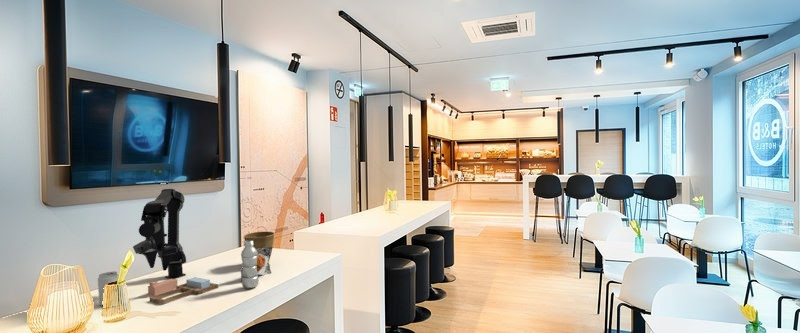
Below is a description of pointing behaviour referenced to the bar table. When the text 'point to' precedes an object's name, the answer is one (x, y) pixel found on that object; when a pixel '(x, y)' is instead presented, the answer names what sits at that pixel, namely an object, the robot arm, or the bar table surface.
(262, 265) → the meal
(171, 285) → the block
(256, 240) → the plant pot
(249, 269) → the plastic bottle
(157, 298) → the jig
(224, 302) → the bar table surface
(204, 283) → the light blue rectangular block
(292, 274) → the bar table surface
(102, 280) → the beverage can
